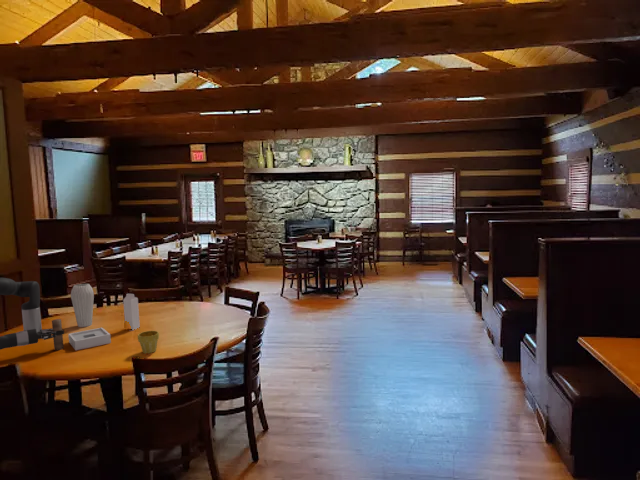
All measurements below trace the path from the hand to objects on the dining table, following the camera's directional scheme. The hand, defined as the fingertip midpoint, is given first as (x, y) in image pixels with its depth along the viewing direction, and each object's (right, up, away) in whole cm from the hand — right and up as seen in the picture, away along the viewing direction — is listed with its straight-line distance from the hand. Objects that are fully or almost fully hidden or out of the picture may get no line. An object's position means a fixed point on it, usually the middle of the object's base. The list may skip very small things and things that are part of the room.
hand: (63, 330), depth 258 cm
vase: (-10, -5, +44) cm, 46 cm away
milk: (+25, -5, +34) cm, 42 cm away
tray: (+10, -8, +9) cm, 16 cm away
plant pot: (+50, -9, -9) cm, 52 cm away
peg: (-2, -10, -1) cm, 10 cm away
